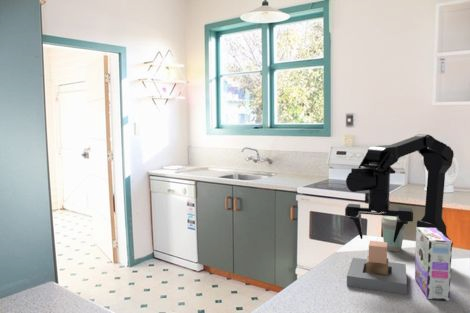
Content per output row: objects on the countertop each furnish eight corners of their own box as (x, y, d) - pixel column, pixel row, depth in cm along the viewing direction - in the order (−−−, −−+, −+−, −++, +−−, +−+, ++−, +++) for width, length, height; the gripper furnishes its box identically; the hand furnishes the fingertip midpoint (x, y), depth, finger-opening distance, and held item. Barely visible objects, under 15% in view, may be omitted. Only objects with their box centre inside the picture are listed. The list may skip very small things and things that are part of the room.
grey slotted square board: (405, 273, 122) (405, 263, 121) (406, 294, 107) (406, 284, 107) (352, 266, 128) (352, 257, 128) (346, 285, 113) (346, 275, 113)
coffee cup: (402, 254, 138) (403, 221, 137) (378, 250, 143) (378, 218, 142) (407, 247, 146) (408, 216, 144) (383, 243, 150) (384, 213, 149)
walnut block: (388, 273, 119) (388, 257, 119) (387, 281, 114) (388, 264, 113) (367, 270, 121) (367, 255, 121) (366, 278, 116) (366, 262, 115)
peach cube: (386, 258, 118) (387, 242, 118) (386, 263, 114) (386, 247, 113) (369, 256, 120) (369, 240, 120) (368, 261, 116) (368, 245, 115)
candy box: (450, 301, 103) (453, 241, 101) (426, 299, 104) (428, 240, 102) (434, 280, 116) (436, 226, 115) (413, 279, 117) (415, 226, 116)
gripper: (412, 186, 119) (410, 236, 120) (349, 183, 126) (348, 230, 127) (414, 192, 108) (412, 247, 110) (345, 188, 116) (344, 239, 117)
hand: (377, 240), depth 116 cm, fingers open, 9 cm apart
